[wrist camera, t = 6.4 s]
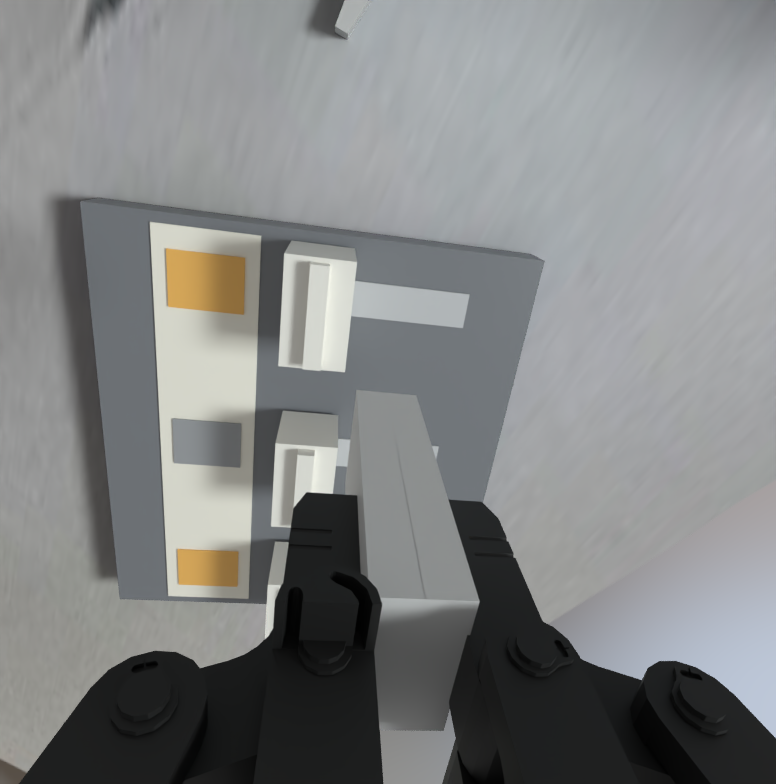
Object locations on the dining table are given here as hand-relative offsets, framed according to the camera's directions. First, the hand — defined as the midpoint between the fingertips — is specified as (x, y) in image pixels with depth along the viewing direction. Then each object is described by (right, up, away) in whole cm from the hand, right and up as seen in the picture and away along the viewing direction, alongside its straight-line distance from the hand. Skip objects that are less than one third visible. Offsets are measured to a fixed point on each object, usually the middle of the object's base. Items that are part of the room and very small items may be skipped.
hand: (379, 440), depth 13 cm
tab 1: (-3, +6, +12) cm, 14 cm away
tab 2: (-4, -2, +16) cm, 17 cm away
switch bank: (-5, -1, +18) cm, 19 cm away
